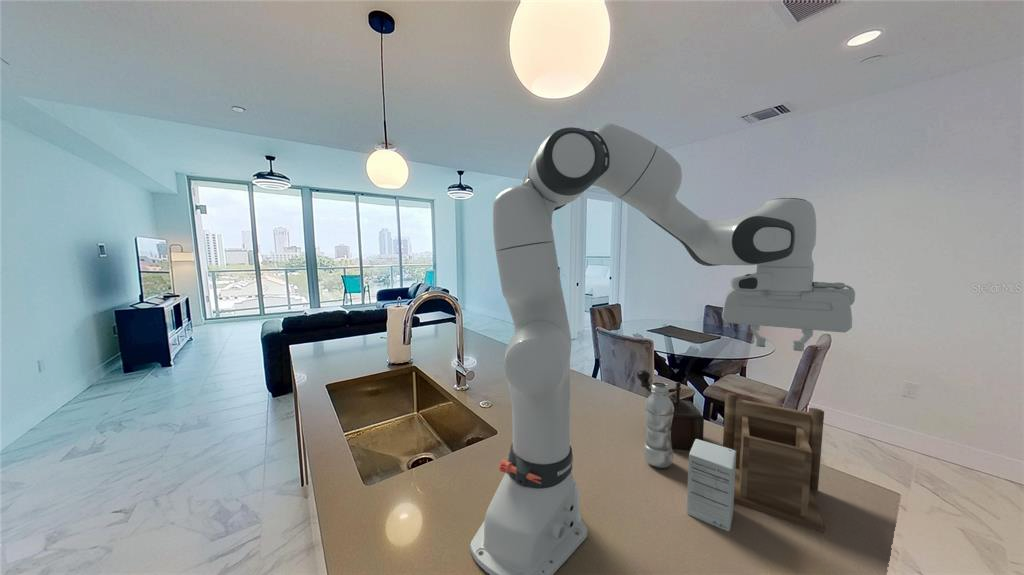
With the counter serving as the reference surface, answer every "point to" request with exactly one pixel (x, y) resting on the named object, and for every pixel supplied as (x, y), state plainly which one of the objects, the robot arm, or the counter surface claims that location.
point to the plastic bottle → (659, 426)
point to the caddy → (775, 458)
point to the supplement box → (711, 483)
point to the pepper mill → (680, 417)
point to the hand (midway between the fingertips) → (778, 348)
